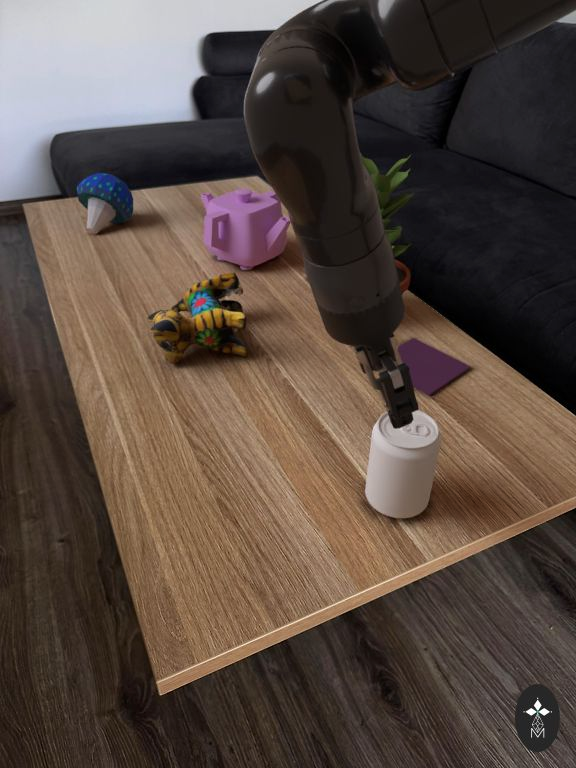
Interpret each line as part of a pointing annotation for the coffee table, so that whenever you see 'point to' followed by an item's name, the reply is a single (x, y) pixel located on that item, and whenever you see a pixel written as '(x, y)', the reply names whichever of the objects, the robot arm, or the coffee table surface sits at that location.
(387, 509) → the beverage can
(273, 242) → the teapot
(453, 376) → the cloth
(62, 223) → the coffee table surface
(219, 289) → the striped cat figurine
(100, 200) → the mushroom
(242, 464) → the coffee table surface
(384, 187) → the potted plant
